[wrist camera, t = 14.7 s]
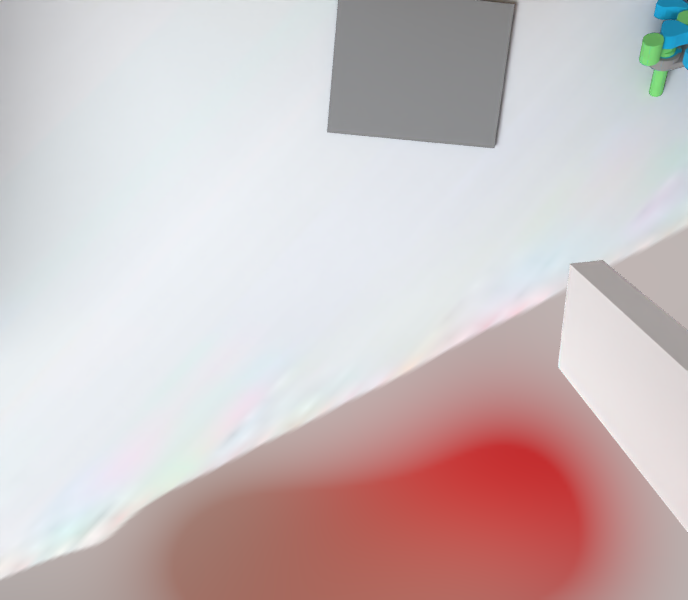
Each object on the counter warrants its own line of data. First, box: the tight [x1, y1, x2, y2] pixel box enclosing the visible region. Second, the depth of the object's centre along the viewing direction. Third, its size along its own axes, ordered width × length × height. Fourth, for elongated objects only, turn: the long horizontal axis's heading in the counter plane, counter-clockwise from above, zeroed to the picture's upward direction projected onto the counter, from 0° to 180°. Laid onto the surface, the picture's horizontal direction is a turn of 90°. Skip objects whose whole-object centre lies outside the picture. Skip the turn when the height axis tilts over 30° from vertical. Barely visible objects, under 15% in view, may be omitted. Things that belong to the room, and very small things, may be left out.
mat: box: [327, 0, 515, 148], centre depth 38 cm, size 10×8×1 cm
